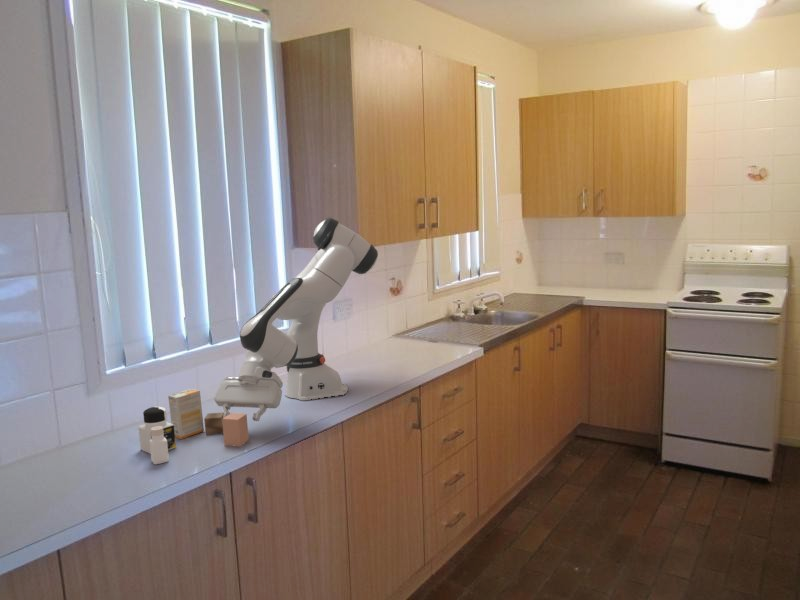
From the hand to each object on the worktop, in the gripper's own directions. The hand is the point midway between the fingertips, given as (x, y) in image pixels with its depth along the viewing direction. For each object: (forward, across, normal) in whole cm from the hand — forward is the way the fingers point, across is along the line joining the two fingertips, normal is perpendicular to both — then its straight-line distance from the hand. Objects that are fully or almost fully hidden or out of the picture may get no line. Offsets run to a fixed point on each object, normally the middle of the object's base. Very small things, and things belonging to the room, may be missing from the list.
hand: (240, 419), depth 190 cm
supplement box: (+3, -19, +6) cm, 21 cm away
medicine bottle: (+12, -21, -3) cm, 24 cm away
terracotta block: (+6, 0, +3) cm, 7 cm away
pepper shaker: (+18, -15, -9) cm, 25 cm away
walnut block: (0, -12, +9) cm, 15 cm away
